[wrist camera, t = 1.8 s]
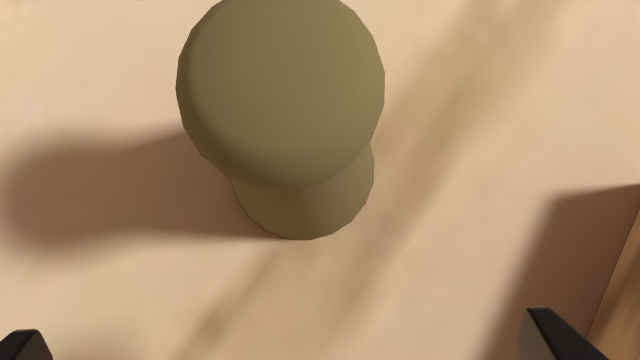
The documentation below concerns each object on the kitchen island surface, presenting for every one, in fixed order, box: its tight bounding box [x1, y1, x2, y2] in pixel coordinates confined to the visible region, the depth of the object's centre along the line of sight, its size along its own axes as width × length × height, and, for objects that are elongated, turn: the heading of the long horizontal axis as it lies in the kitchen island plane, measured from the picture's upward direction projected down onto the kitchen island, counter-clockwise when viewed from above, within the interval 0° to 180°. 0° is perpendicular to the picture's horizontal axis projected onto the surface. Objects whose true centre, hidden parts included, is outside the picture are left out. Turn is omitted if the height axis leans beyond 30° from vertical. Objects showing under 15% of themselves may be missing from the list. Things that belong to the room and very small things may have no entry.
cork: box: [176, 0, 385, 240], centre depth 17 cm, size 6×6×11 cm
